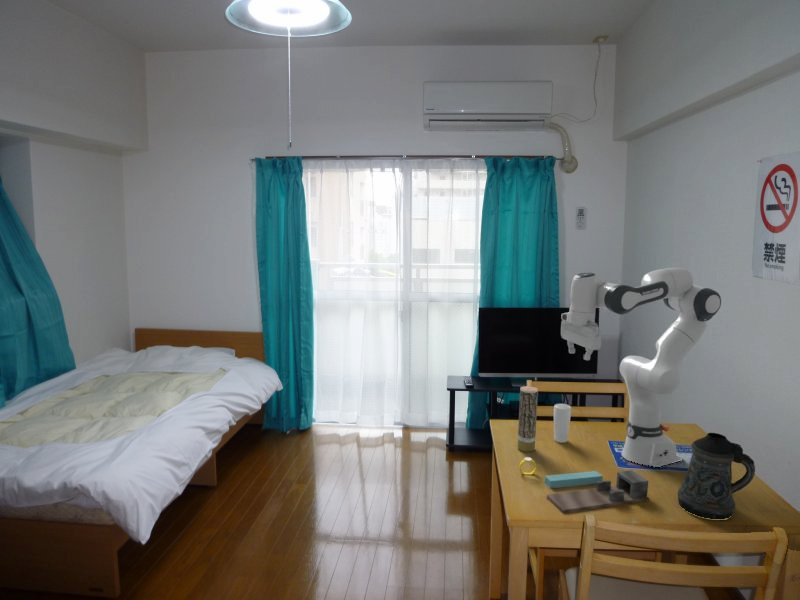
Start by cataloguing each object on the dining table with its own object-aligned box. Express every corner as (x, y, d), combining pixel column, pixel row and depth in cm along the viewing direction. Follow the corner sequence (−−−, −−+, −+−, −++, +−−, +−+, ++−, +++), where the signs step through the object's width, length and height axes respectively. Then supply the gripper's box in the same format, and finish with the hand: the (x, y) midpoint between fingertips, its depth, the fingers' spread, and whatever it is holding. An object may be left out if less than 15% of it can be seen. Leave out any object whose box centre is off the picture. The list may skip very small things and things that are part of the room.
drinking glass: (570, 439, 236) (572, 405, 233) (567, 445, 230) (569, 410, 227) (553, 436, 239) (555, 402, 236) (550, 442, 232) (552, 407, 230)
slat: (595, 478, 202) (596, 470, 201) (602, 484, 198) (602, 476, 197) (544, 483, 197) (544, 475, 197) (549, 489, 194) (550, 481, 193)
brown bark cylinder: (534, 453, 222) (538, 392, 218) (517, 451, 223) (520, 390, 219) (534, 446, 228) (537, 386, 224) (517, 444, 229) (520, 385, 226)
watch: (520, 476, 202) (520, 461, 202) (518, 473, 205) (518, 457, 204) (537, 475, 202) (536, 460, 202) (535, 472, 205) (535, 456, 204)
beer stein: (669, 493, 191) (675, 423, 187) (729, 497, 189) (737, 426, 185) (688, 520, 175) (696, 443, 171) (754, 524, 173) (764, 447, 169)
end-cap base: (629, 486, 196) (630, 468, 195) (648, 500, 186) (650, 482, 185) (546, 497, 187) (547, 479, 186) (563, 513, 178) (564, 493, 177)
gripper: (607, 323, 191) (604, 363, 193) (573, 313, 210) (571, 349, 212) (591, 324, 189) (588, 364, 191) (558, 313, 209) (556, 350, 211)
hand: (579, 356), depth 202 cm, fingers open, 8 cm apart
